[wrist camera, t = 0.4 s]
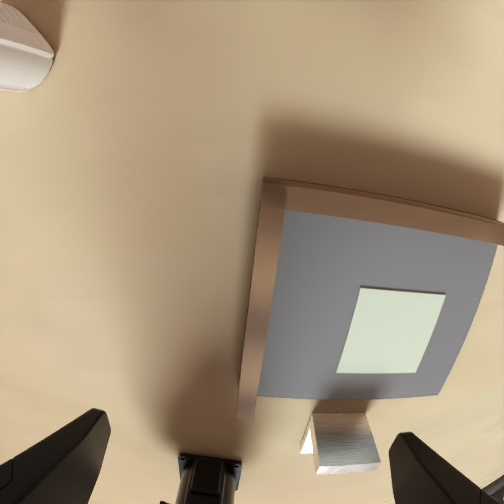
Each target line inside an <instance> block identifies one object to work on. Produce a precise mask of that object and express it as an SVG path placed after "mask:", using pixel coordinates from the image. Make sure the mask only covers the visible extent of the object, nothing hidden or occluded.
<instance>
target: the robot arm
mask: <svg viewBox="0 0 504 504" xmlns="http://www.w3.org/2000/svg"><path fill="white" fill-rule="evenodd" d="M110 433H111V428H110V424H109V421H108V417H107V414H106V412H105V411H103V410H100V409H96V408H92V409H90V410H89V411H87V412H86V413H84V414H83V415H81V416H79V417H78V418H76V419H75V420H73V421H72V422H70V423H69V424H67V425H65V426H64V427H62V428H61V429H59V430H58V431H56V432H54V433H53V434H51V435H50V436H48V437H46V438H45V439H43V440H42V441H40V442H38V443H37V444H35V445H33V446H32V447H30V448H29V449H27V450H25V451H24V452H22V453H20V454H19V455H17V456H15V457H14V458H13V459H10V460H8V461H7V462H5V463H3V464H1V465H0V504H88V501H89V499H90V496H91V494H92V491H93V489H94V486H95V484H96V481H97V479H98V476H99V473H100V470H101V467H102V463H103V459H104V455H105V451H106V448H107V444H108V441H109V437H110ZM389 461H390V469H391V478H392V487H393V494H394V499H395V503H396V504H501V503H500V502H498V501H497V500H495V499H494V498H493V497H491V496H490V495H489V494H487V493H486V492H485V491H483V490H482V489H480V487H478V486H477V485H476V484H474V483H473V482H472V481H471V480H469V479H468V478H467V477H466V476H464V475H463V474H462V473H461V472H459V471H458V470H457V469H456V468H454V467H453V466H452V465H451V464H450V463H448V462H447V461H446V460H445V459H443V458H442V457H441V456H440V455H438V454H437V453H436V452H435V451H434V450H432V449H431V448H430V447H429V446H428V445H426V444H425V443H424V442H423V441H422V440H420V439H419V438H418V437H417V436H416V435H414V434H413V433H412V432H403V433H399V434H398V435H397V437H396V438H395V440H394V442H393V444H392V445H391V447H390V449H389ZM178 462H179V471H180V479H181V481H180V486H179V490H178V495H177V499H176V504H234V494H235V491H236V490H238V485H239V479H240V474H241V468H242V463H241V462H239V461H232V460H223V459H215V458H208V457H201V456H195V455H189V454H182V453H181V454H179V456H178ZM160 504H169V503H166V502H164V501H160Z"/></svg>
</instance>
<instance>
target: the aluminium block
mask: <svg viewBox="0 0 504 504" xmlns="http://www.w3.org/2000/svg"><path fill="white" fill-rule="evenodd" d="M300 449H301V453H313V456H314V464H315V472H316V474H338V473H353V472H365V471H374V470H376V469H377V467H378V466H379V464H380V463H381V461H380V458H379V455H378V451H377V448H376V445H375V442H374V439H373V435H372V432H371V429H370V426H369V423H368V420H367V417H366V414H365V413H312V414H311V417H310V420H309V423H308V426H307V428H306V431H305V434H304V437H303V439H302V442H301V445H300Z"/></svg>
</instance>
